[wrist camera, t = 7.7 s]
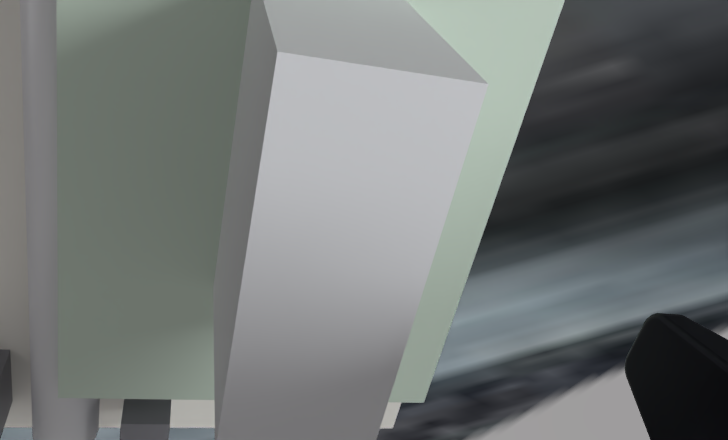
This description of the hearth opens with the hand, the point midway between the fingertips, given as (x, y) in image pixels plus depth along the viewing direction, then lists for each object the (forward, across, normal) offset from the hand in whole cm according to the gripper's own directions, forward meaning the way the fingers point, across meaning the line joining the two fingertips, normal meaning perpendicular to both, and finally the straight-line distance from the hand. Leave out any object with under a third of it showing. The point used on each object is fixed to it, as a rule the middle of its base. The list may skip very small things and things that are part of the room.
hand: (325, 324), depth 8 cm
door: (+7, 0, 0) cm, 7 cm away
